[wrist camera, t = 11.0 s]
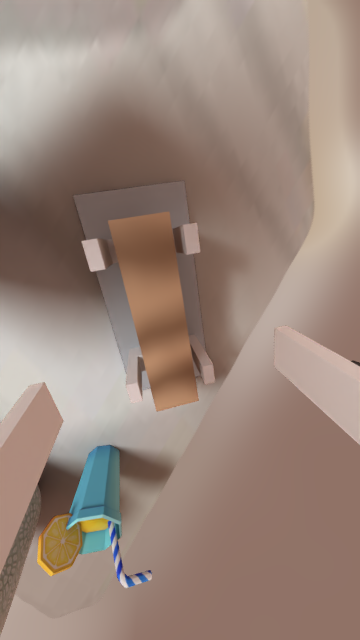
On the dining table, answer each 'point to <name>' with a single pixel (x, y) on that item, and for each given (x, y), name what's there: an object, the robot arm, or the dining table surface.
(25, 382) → the dining table surface
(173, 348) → the rail
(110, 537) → the cup
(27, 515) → the planter
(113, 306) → the bracket board
